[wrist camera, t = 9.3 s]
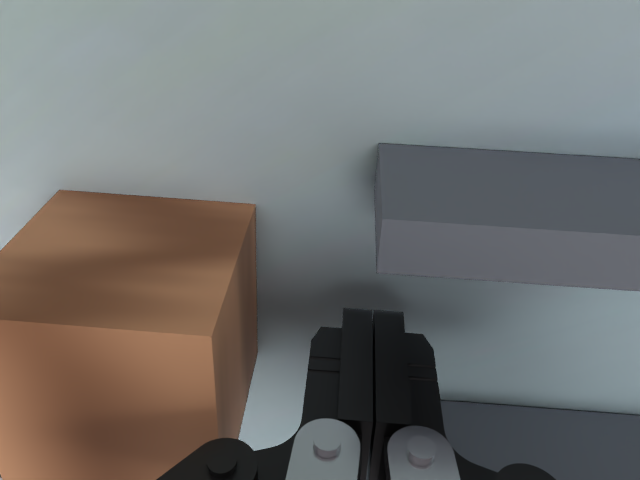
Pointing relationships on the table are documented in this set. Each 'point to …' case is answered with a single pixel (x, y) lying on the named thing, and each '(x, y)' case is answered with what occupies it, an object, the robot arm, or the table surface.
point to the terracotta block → (124, 334)
